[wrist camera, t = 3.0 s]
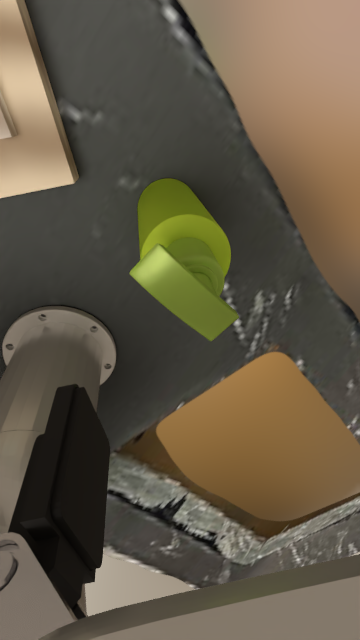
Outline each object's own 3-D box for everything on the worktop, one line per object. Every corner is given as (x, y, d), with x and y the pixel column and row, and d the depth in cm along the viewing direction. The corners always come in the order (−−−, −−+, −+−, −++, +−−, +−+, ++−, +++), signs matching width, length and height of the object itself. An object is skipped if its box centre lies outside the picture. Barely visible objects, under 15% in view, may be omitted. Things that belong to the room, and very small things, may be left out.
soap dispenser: (158, 155, 30) (193, 209, 13) (209, 209, 33) (292, 310, 16) (116, 204, 31) (98, 309, 15) (168, 251, 35) (203, 382, 18)
